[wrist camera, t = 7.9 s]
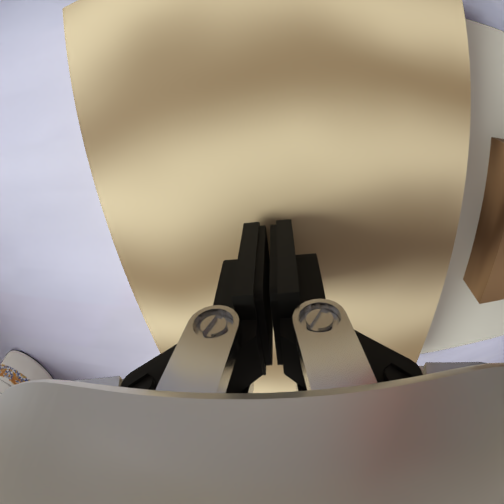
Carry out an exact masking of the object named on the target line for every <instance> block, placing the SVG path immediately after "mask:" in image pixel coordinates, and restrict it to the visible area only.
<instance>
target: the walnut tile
mask: <svg viewBox="0 0 504 504" xmlns="http://www.w3.org/2000/svg"><path fill="white" fill-rule="evenodd" d="M463 280H464V282H465V283H466V285H467V286H468V288H469V289H470V291H471V292H472V294H473V295H474V297H475V298H476V300H477V301H478V303H479V304H482V303H488V302H493V301H498V300H503V299H504V139H501V138H495V137H491V146H490V155H489V164H488V172H487V178H486V185H485V191H484V197H483V202H482V207H481V212H480V217H479V222H478V226H477V230H476V235H475V239H474V243H473V246H472V250H471V254H470V257H469V261H468V264H467V268H466V271H465V274H464V278H463Z"/></svg>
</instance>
